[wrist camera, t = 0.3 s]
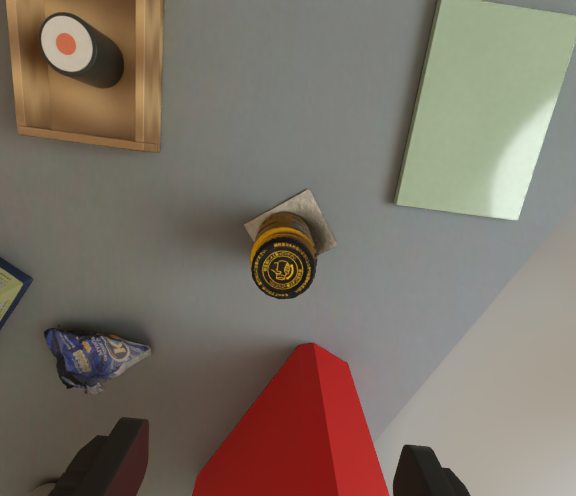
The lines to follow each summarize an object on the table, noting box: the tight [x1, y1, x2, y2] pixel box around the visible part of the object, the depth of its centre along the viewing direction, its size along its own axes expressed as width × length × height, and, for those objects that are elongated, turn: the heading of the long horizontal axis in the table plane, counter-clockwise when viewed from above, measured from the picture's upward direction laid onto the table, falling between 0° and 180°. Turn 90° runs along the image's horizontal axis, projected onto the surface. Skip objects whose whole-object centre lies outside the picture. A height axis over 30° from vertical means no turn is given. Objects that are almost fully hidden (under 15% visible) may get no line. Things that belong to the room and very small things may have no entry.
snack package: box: [44, 326, 152, 394], centre depth 38 cm, size 12×6×12 cm
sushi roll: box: [39, 12, 124, 89], centre depth 29 cm, size 5×5×5 cm
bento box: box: [6, 0, 164, 152], centre depth 30 cm, size 16×12×4 cm
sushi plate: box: [394, 0, 576, 221], centre depth 33 cm, size 20×14×1 cm
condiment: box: [244, 189, 338, 299], centre depth 31 cm, size 7×8×12 cm
